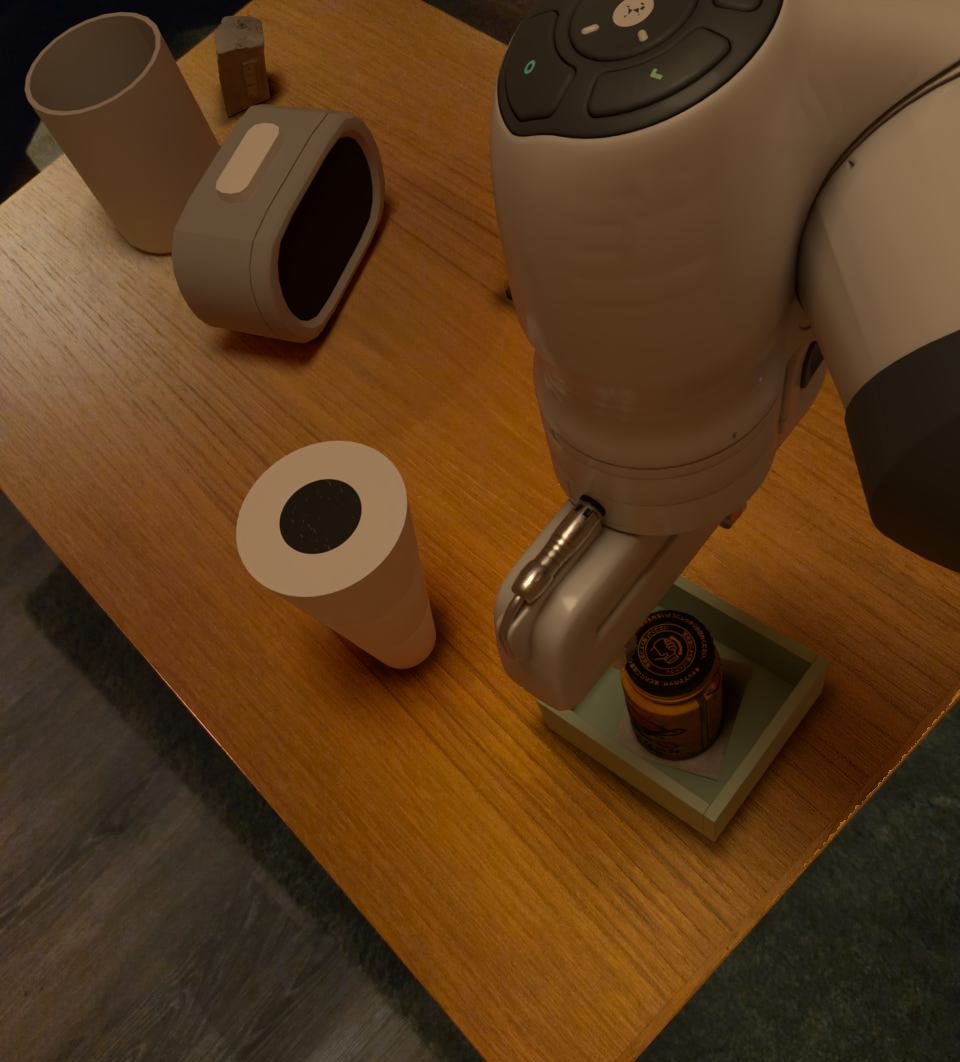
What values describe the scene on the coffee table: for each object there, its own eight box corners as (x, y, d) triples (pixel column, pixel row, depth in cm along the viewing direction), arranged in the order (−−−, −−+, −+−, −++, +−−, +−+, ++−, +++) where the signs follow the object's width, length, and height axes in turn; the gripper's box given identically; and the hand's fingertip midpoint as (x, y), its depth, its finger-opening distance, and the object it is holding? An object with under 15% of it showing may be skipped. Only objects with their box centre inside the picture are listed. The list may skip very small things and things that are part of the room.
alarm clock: (310, 374, 87) (246, 261, 75) (222, 357, 90) (147, 245, 78) (400, 203, 93) (354, 73, 81) (315, 192, 97) (259, 66, 85)
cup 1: (147, 278, 97) (49, 138, 82) (91, 181, 105) (-7, 39, 91) (260, 211, 97) (182, 59, 83) (195, 119, 105) (114, -32, 91)
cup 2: (386, 734, 71) (291, 631, 55) (312, 634, 76) (206, 513, 60) (502, 645, 72) (442, 518, 56) (422, 551, 77) (346, 410, 61)
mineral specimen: (230, 132, 102) (189, 53, 96) (226, 99, 108) (187, 22, 101) (294, 104, 101) (258, 22, 95) (287, 72, 107) (252, -8, 101)
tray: (821, 692, 66) (830, 660, 61) (714, 842, 63) (714, 822, 58) (653, 592, 71) (648, 556, 66) (548, 727, 69) (535, 700, 64)
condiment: (610, 749, 67) (591, 684, 56) (649, 639, 69) (637, 558, 59) (716, 781, 64) (717, 720, 54) (752, 666, 67) (759, 586, 56)
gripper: (561, 666, 34) (598, 778, 46) (877, 265, 38) (835, 466, 51) (427, 578, 37) (496, 706, 49) (737, 211, 41) (729, 415, 53)
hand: (670, 581), depth 50 cm, fingers open, 8 cm apart
